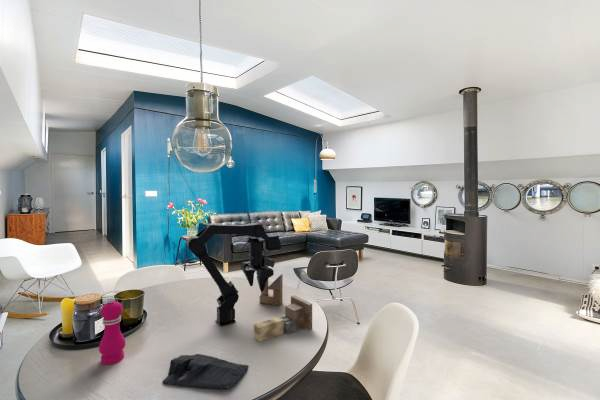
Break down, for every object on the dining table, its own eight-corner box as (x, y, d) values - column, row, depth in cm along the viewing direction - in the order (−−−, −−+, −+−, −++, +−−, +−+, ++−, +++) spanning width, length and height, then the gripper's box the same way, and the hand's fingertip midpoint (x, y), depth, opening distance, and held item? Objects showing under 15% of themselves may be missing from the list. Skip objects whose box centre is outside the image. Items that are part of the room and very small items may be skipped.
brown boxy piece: (291, 336, 110) (291, 310, 110) (273, 325, 120) (273, 300, 119) (312, 329, 116) (312, 303, 116) (293, 318, 126) (293, 295, 125)
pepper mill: (120, 350, 100) (119, 292, 100) (129, 358, 96) (128, 296, 95) (95, 360, 95) (94, 298, 94) (103, 368, 90) (102, 303, 90)
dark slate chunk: (226, 400, 77) (226, 382, 77) (157, 384, 84) (157, 368, 83) (252, 367, 92) (252, 352, 92) (192, 355, 98) (191, 341, 98)
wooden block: (279, 305, 140) (279, 267, 140) (259, 303, 144) (259, 266, 143) (282, 303, 144) (282, 266, 143) (262, 300, 147) (262, 264, 147)
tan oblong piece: (258, 341, 107) (258, 327, 106) (254, 337, 109) (254, 324, 109) (290, 330, 115) (290, 317, 115) (285, 327, 118) (285, 314, 118)
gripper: (284, 253, 125) (284, 290, 126) (261, 247, 140) (261, 280, 140) (261, 257, 118) (261, 296, 119) (240, 250, 133) (240, 284, 134)
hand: (256, 288), depth 128 cm, fingers open, 9 cm apart
